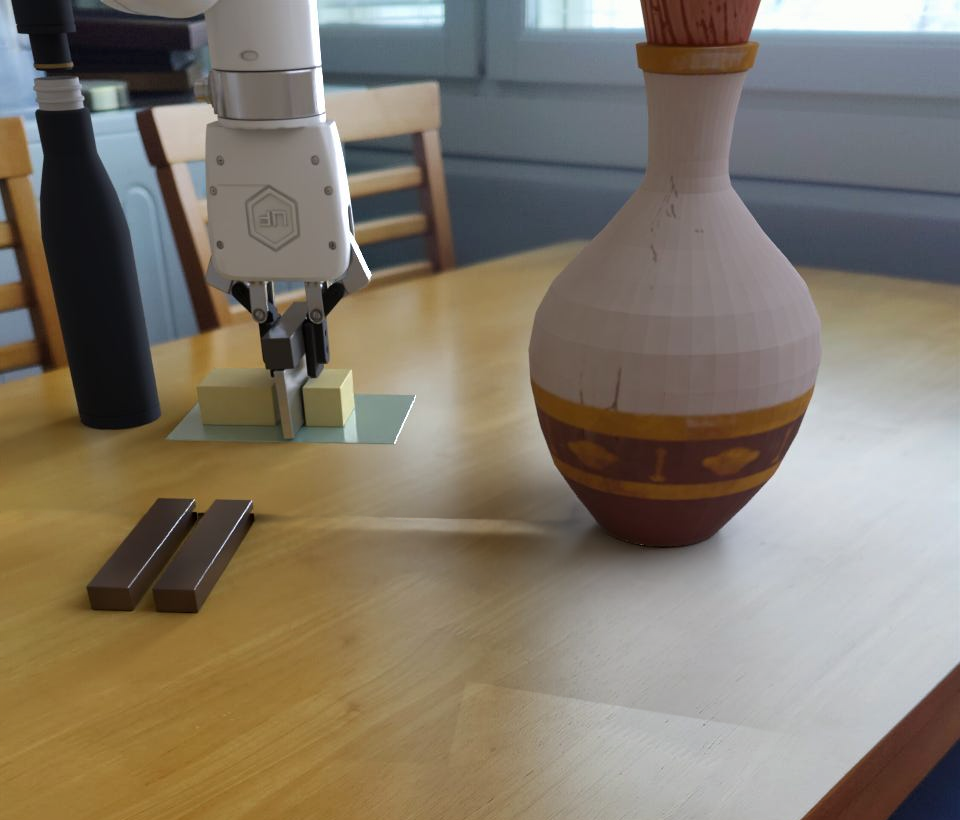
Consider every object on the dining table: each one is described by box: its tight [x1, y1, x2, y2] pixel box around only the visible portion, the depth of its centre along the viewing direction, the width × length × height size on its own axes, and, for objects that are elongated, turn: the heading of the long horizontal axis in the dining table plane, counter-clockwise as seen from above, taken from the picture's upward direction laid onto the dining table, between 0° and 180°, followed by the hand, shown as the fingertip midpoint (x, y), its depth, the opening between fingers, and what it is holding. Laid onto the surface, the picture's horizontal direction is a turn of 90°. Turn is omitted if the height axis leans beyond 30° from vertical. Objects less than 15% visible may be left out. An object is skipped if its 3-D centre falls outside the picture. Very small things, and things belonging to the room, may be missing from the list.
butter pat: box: [302, 368, 355, 427], centre depth 96 cm, size 3×5×3 cm, turn 174°
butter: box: [196, 367, 281, 426], centre depth 97 cm, size 6×5×3 cm
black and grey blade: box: [260, 300, 310, 439], centre depth 95 cm, size 12×2×7 cm, turn 174°
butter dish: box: [164, 393, 417, 445], centre depth 98 cm, size 18×12×1 cm, turn 84°
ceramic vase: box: [527, 0, 822, 547], centre depth 73 cm, size 20×18×30 cm
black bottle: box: [10, 0, 162, 431], centre depth 89 cm, size 6×6×30 cm
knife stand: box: [86, 497, 256, 613], centre depth 77 cm, size 7×14×2 cm, turn 174°
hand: (297, 370), depth 95 cm, fingers closed on black and grey blade, 2 cm apart
